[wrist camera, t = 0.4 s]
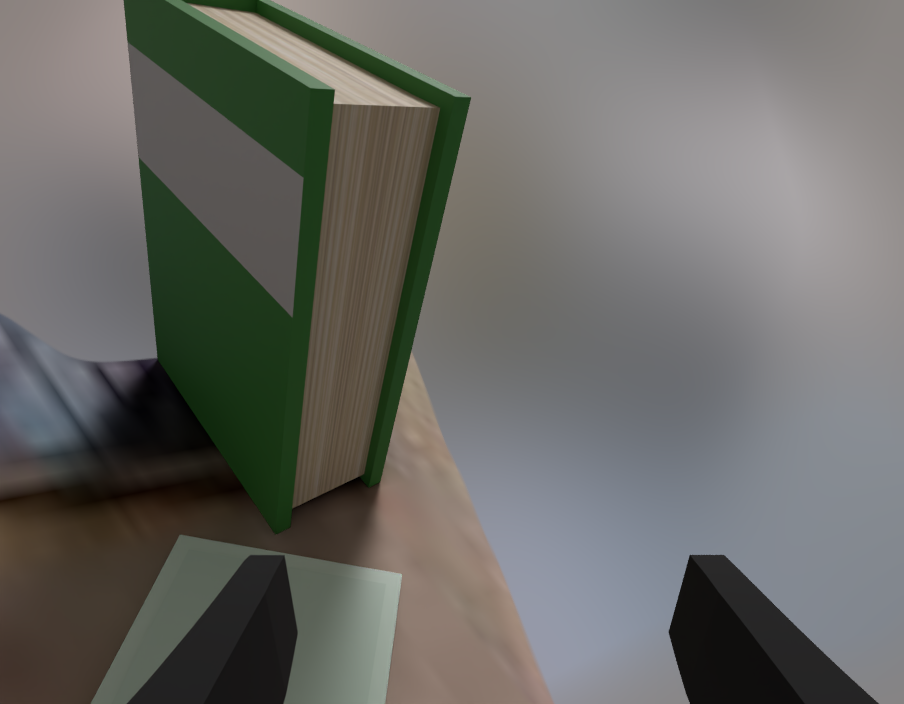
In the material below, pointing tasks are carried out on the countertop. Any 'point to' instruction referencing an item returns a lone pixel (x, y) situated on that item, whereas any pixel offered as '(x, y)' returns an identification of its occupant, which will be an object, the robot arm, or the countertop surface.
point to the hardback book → (286, 232)
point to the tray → (316, 611)
